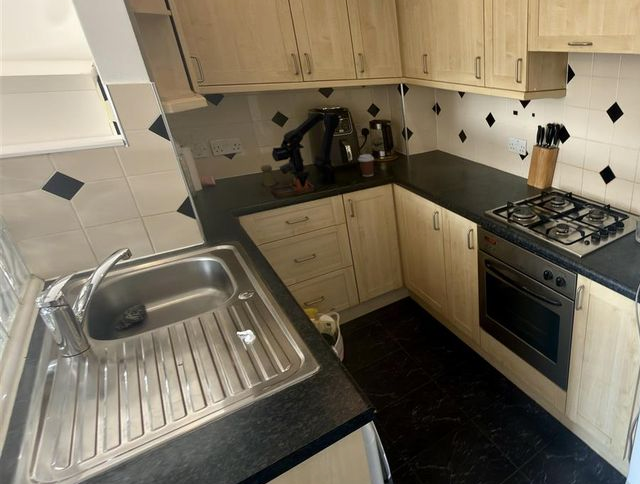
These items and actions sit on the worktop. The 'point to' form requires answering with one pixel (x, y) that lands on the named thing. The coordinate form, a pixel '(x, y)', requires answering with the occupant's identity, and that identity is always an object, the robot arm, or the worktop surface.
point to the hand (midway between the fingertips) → (301, 185)
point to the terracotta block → (299, 184)
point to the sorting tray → (291, 190)
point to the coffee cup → (366, 164)
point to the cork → (268, 175)
